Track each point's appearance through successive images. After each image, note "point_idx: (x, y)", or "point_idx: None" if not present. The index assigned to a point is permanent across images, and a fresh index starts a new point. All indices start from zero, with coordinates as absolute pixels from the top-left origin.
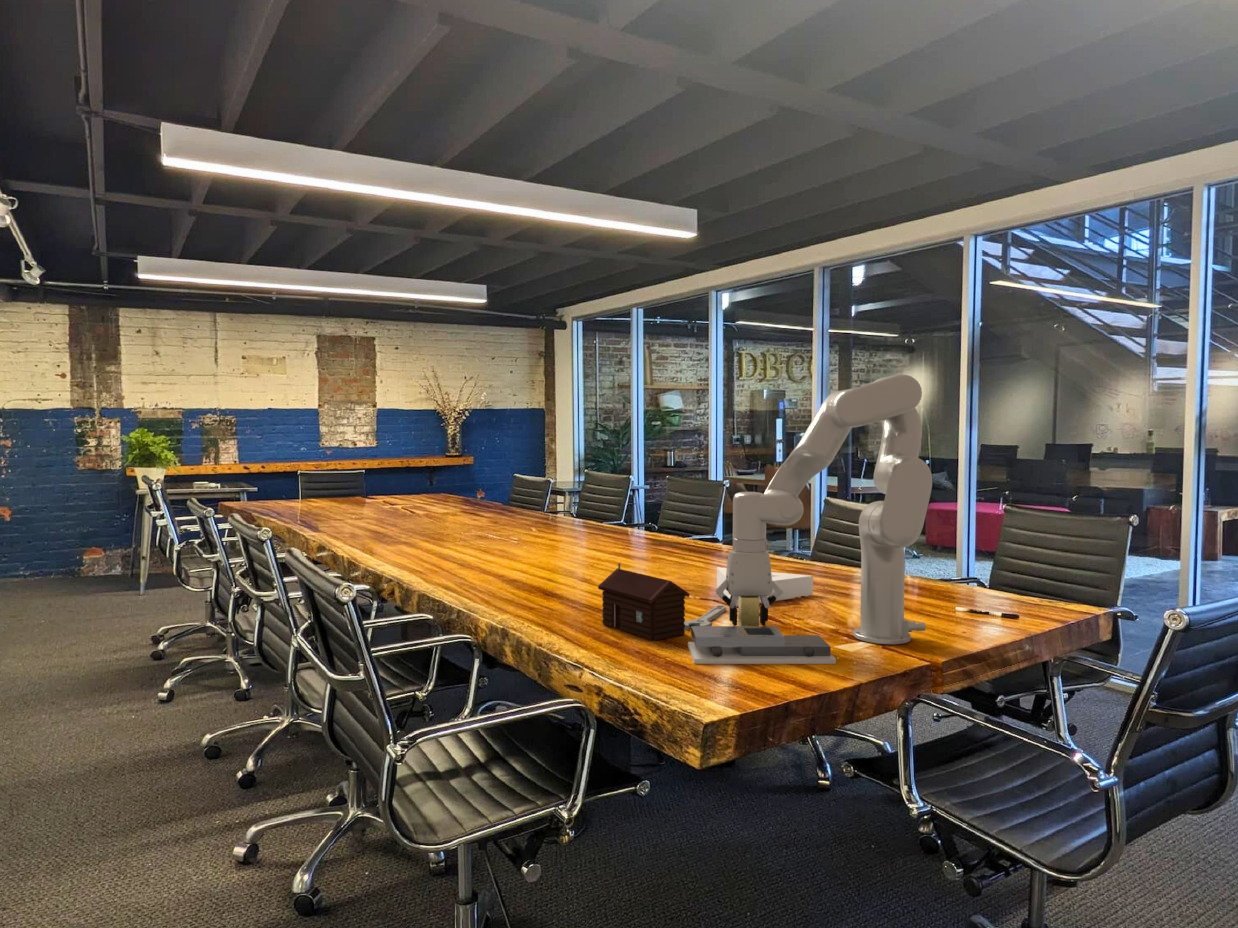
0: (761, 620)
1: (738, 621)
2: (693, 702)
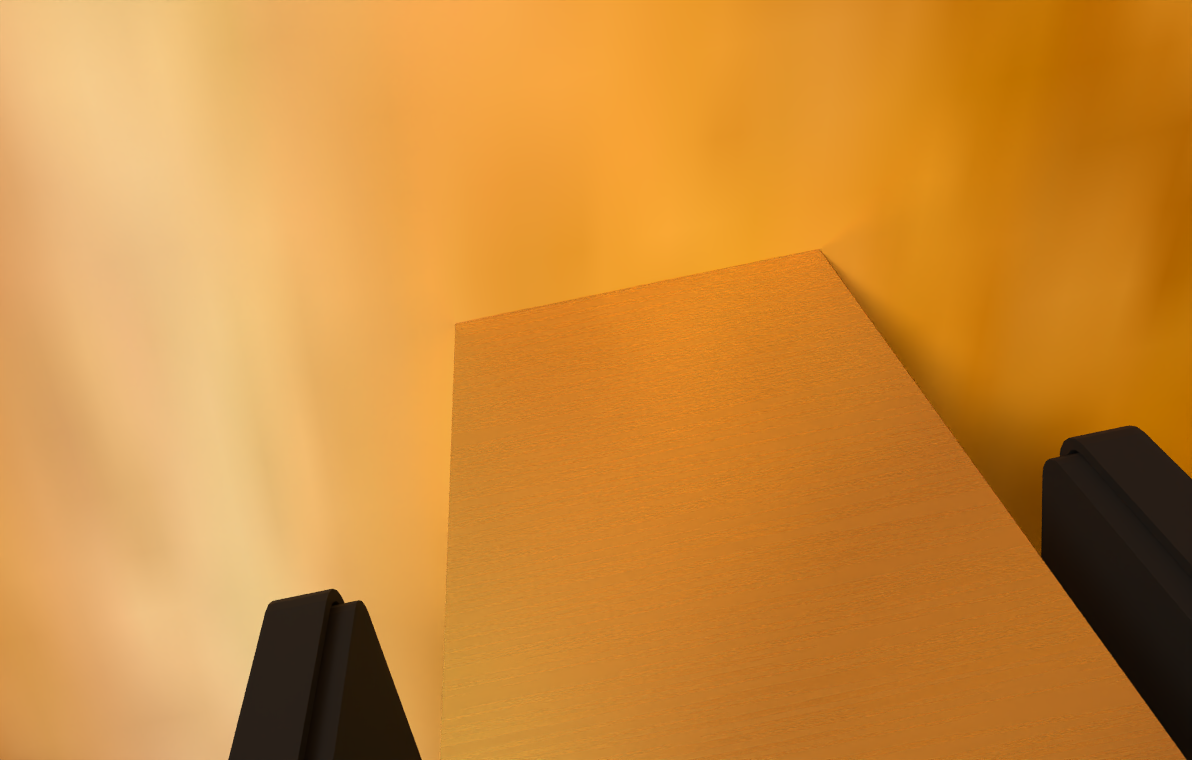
0: None
1: (449, 524)
2: None
